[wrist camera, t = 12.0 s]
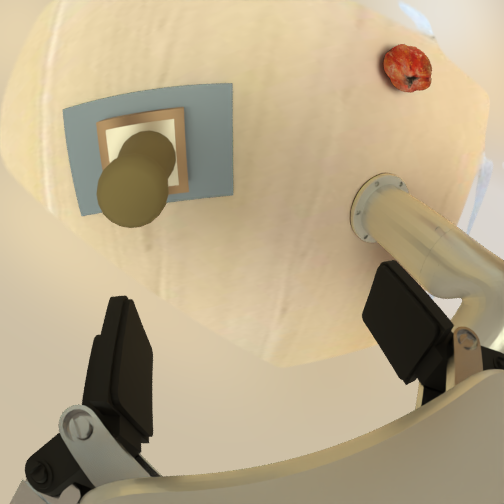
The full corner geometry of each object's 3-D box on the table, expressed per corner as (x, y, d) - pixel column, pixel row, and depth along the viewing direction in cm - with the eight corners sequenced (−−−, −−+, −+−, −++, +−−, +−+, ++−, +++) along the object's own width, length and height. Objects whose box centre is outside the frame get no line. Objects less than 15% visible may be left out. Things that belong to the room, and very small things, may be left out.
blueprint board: (230, 83, 27) (232, 83, 26) (231, 192, 34) (233, 195, 34) (65, 108, 22) (62, 109, 22) (83, 213, 30) (81, 216, 29)
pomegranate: (378, 39, 27) (372, 59, 24) (421, 34, 22) (426, 53, 19) (394, 78, 32) (391, 105, 29) (434, 75, 27) (439, 103, 24)
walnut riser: (183, 106, 26) (183, 108, 23) (187, 180, 31) (189, 192, 28) (106, 118, 24) (95, 122, 21) (115, 190, 29) (108, 204, 26)
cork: (138, 198, 26) (120, 255, 17) (107, 152, 23) (68, 189, 14) (186, 168, 26) (191, 212, 17) (157, 119, 22) (142, 134, 14)
